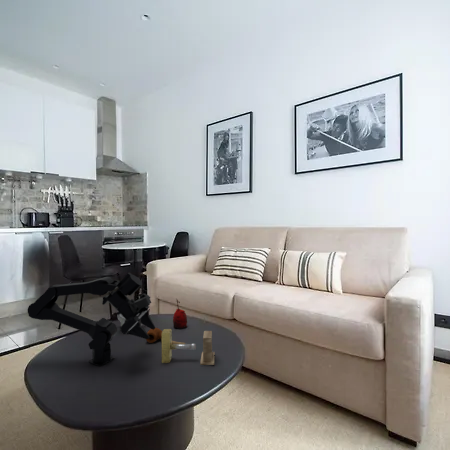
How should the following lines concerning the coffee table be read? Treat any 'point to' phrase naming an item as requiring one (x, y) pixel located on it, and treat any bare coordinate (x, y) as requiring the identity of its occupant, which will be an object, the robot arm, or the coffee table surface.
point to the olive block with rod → (171, 346)
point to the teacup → (122, 319)
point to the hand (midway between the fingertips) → (151, 333)
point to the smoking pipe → (157, 336)
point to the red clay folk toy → (179, 318)
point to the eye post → (207, 349)
